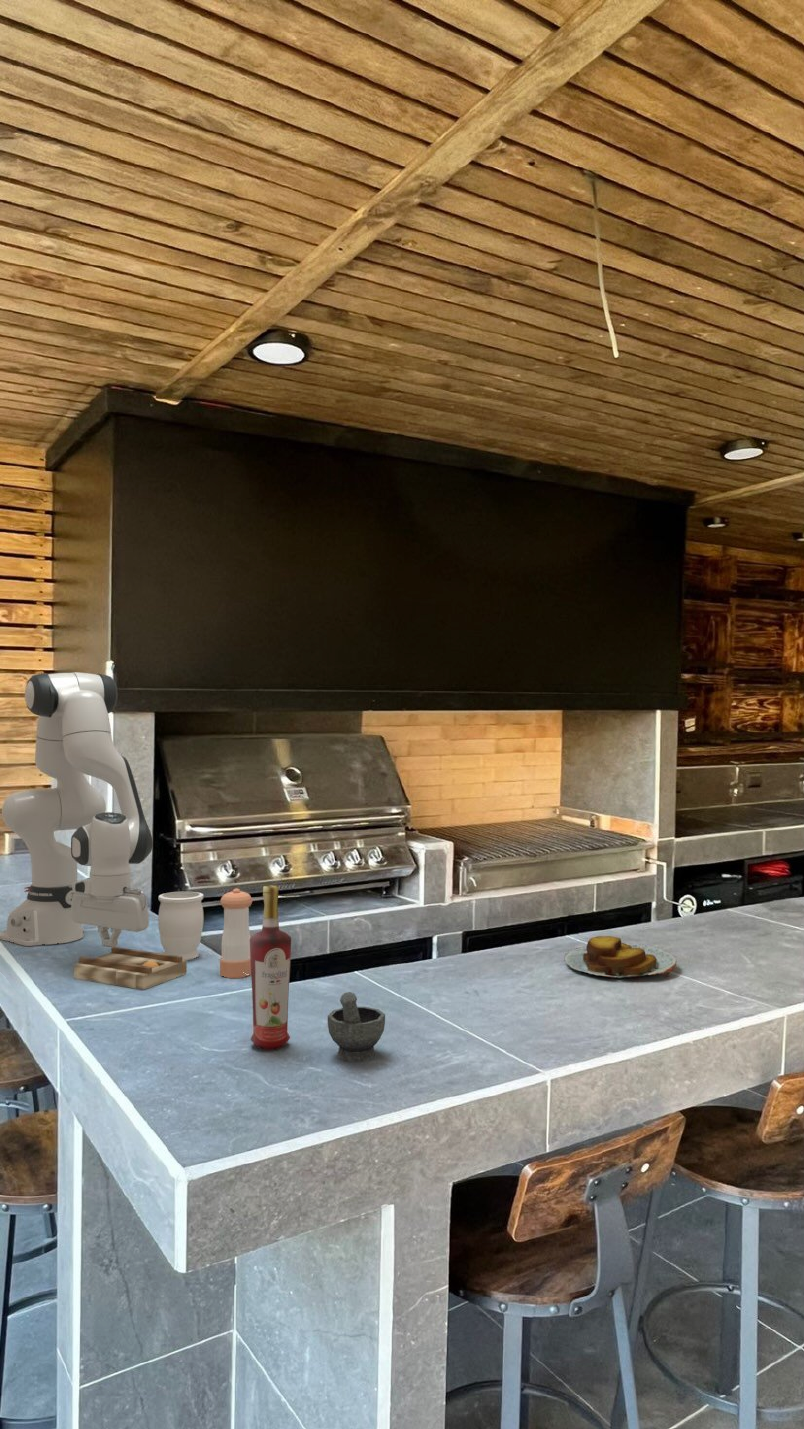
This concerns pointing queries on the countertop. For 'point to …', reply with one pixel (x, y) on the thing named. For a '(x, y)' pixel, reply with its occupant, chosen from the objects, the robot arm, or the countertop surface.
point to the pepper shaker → (236, 935)
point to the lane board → (130, 968)
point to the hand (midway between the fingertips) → (109, 946)
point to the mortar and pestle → (355, 1029)
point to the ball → (150, 964)
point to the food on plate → (619, 958)
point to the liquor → (270, 977)
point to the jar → (181, 923)
